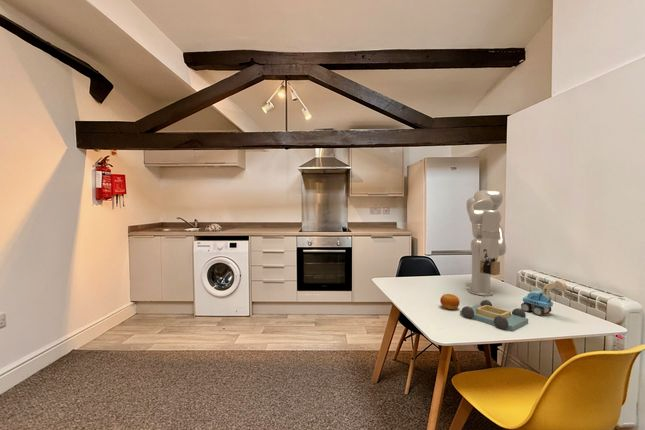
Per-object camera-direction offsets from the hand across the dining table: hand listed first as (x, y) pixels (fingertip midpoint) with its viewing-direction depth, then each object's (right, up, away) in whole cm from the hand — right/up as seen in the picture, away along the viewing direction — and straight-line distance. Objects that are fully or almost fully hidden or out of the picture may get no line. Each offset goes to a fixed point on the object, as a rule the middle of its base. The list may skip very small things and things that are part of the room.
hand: (489, 271), depth 148 cm
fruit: (-20, -18, 0) cm, 27 cm away
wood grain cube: (0, -1, 0) cm, 1 cm away
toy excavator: (+21, -19, -7) cm, 29 cm away
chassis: (-6, -18, -14) cm, 24 cm away
